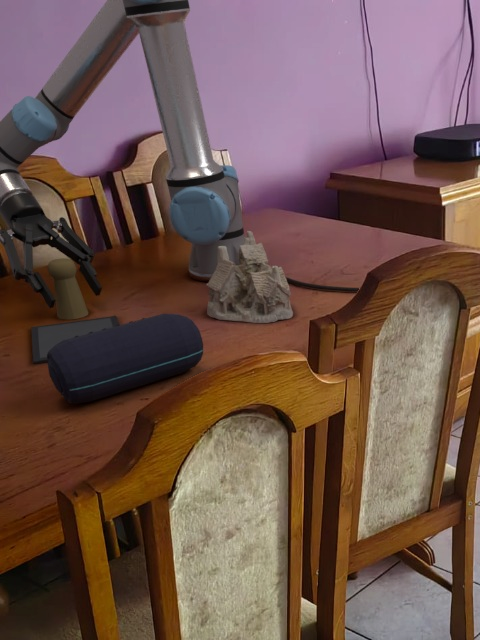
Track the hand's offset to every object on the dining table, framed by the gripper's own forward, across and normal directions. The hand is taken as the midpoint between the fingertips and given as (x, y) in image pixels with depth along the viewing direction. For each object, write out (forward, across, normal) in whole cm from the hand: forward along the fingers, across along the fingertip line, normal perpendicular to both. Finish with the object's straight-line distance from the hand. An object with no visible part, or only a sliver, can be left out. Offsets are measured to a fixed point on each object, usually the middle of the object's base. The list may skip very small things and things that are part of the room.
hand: (76, 297), depth 166 cm
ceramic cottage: (+20, -24, +14) cm, 34 cm away
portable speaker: (+31, +13, +24) cm, 41 cm away
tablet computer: (+11, +7, +5) cm, 14 cm away
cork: (+1, 0, -5) cm, 5 cm away
